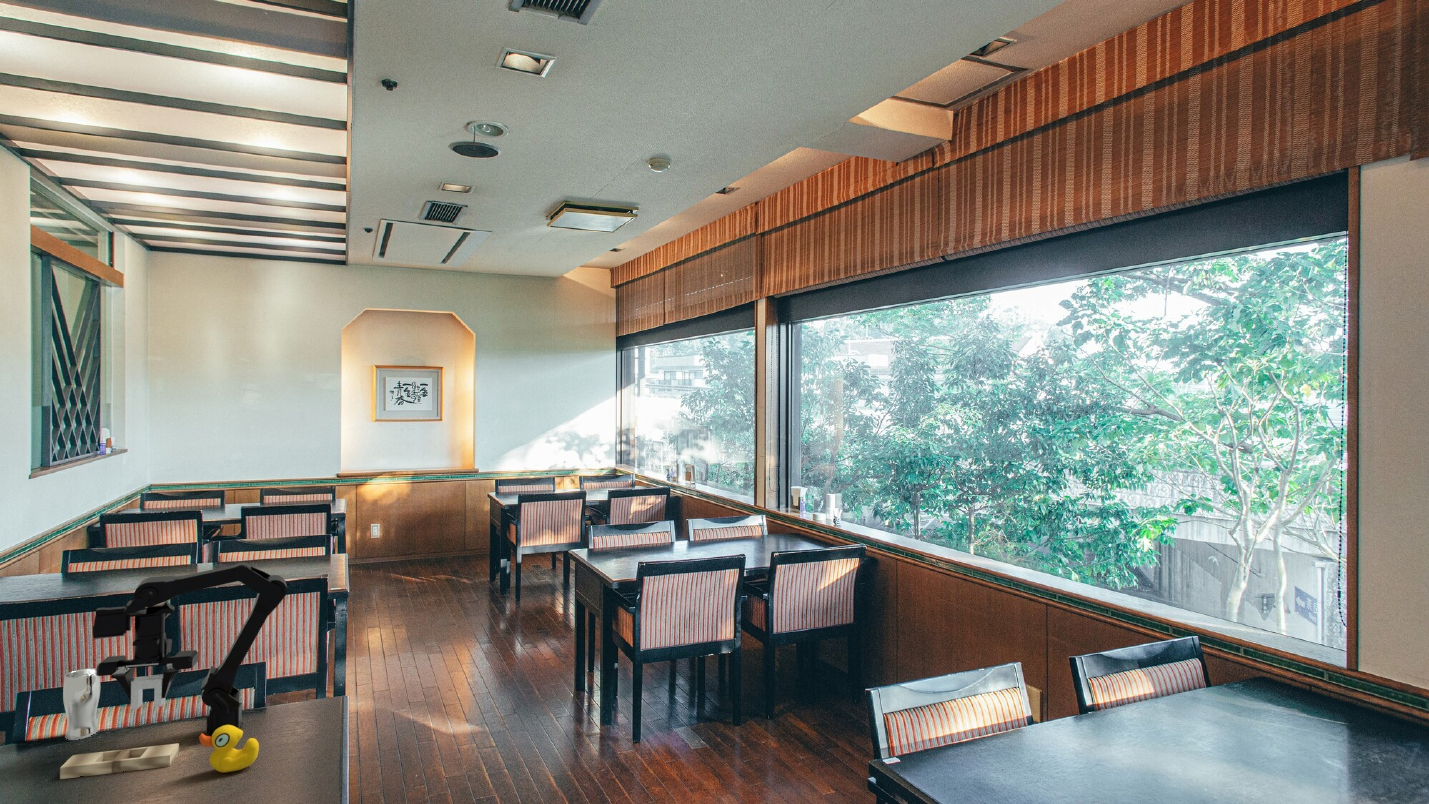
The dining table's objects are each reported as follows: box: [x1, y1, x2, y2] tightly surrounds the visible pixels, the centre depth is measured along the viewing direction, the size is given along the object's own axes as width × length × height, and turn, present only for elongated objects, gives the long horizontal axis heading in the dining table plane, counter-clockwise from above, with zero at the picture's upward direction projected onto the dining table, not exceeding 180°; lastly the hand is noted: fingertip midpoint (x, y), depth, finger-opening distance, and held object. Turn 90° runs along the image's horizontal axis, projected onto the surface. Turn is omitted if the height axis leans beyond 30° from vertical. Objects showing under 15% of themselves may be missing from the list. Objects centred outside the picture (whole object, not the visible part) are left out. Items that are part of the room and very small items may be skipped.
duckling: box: [198, 725, 260, 774], centre depth 170 cm, size 11×5×10 cm, turn 111°
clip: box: [130, 674, 166, 710], centre depth 181 cm, size 6×3×6 cm, turn 109°
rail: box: [59, 742, 180, 780], centre depth 171 cm, size 20×6×2 cm, turn 109°
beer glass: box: [62, 667, 101, 741], centre depth 186 cm, size 7×7×15 cm
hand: (148, 699), depth 181 cm, fingers closed on clip, 6 cm apart
